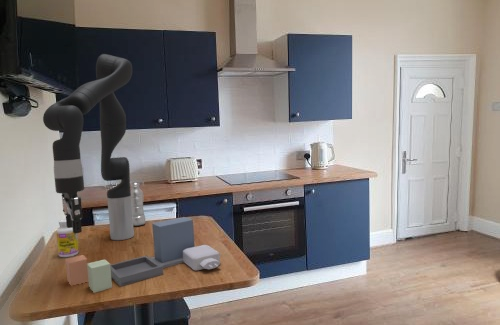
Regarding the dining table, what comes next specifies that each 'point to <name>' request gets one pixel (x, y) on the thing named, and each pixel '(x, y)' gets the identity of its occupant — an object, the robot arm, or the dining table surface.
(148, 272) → the tray
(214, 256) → the charger
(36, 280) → the dining table surface
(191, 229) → the block
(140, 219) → the plastic bottle
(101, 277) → the sage block
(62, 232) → the supplement bottle
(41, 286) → the dining table surface
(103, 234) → the dining table surface
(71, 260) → the terracotta block
